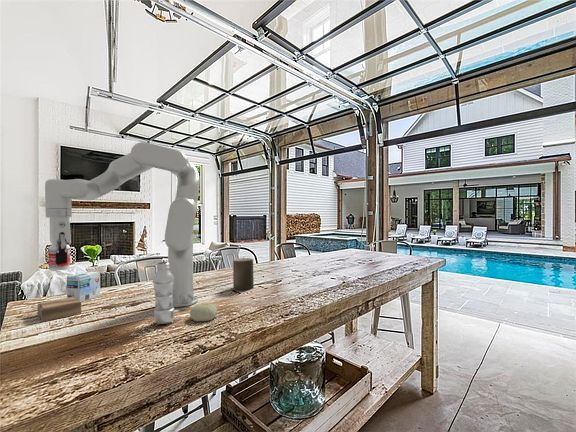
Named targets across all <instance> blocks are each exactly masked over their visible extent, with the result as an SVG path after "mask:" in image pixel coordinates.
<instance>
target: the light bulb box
mask: <svg viewBox="0 0 576 432" xmlns="http://www.w3.org/2000/svg"><path fill="white" fill-rule="evenodd" d="M100 296H101V271H88V270H87V271H85V272H80V273H76V274H71V275H67V276H66V298H68V297H75V298H76V299H77V300H79V301H80V302H81V303H82V302H85V301H89V300H91V299H94V298H97V297H100Z"/></svg>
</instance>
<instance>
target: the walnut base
mask: <svg viewBox="0 0 576 432" xmlns="http://www.w3.org/2000/svg"><path fill="white" fill-rule="evenodd" d="M36 304H37V316H38V317H39V319H40V320H41V322H42V323H45V322H49V321H53V320H57V319H62V318H66V317H71V316H74V315H80V314H82V302H80V301H79V300H77V299H76V298H75V297H68V298H67V297H64V298H57V299H52V300H46V301H41V302H39V303H36Z"/></svg>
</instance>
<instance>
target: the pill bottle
mask: <svg viewBox="0 0 576 432" xmlns="http://www.w3.org/2000/svg"><path fill="white" fill-rule="evenodd" d="M66 242H67V241H66ZM50 244H51V245H50V246H48V249H47V250H48V251H47V252H48V254H47V255H48V270H49V271H65V270H68V269H70V268H71V246H70V244H67V243H66V248H67V263H65V264H56V253H57V251H56V245H54V244H53V242H52V240H51V242H50ZM58 244H61V243H58Z"/></svg>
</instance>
